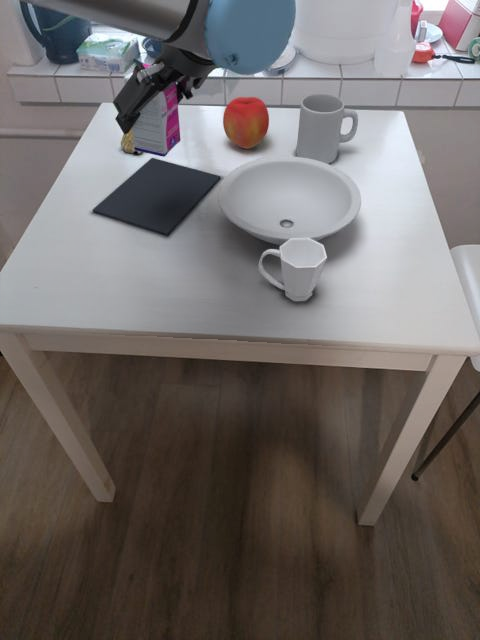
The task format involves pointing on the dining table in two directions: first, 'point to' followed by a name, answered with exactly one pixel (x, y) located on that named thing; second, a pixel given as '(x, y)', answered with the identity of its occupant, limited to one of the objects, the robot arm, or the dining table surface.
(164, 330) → the dining table surface
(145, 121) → the supplement box
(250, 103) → the apple
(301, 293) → the cup
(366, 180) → the dining table surface
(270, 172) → the white sink basin
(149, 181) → the mat
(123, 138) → the seashell
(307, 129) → the mug
